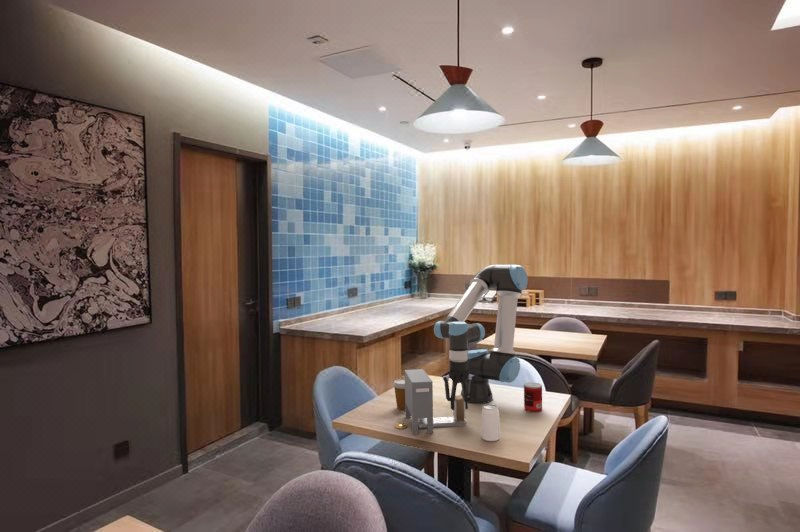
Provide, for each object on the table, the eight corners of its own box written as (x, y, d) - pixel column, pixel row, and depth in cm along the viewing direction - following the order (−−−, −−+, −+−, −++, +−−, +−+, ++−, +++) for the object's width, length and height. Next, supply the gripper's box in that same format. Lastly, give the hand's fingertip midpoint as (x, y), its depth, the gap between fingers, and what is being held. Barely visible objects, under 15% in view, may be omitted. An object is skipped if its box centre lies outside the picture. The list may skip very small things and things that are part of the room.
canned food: (542, 407, 216) (542, 382, 215) (541, 412, 208) (541, 387, 208) (525, 405, 218) (524, 381, 218) (523, 411, 211) (523, 386, 210)
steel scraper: (461, 419, 201) (461, 394, 201) (465, 425, 194) (465, 399, 194) (416, 421, 199) (416, 396, 199) (419, 427, 192) (418, 401, 192)
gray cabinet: (423, 415, 207) (423, 369, 207) (433, 433, 185) (432, 382, 185) (405, 416, 206) (404, 369, 206) (413, 435, 184) (412, 383, 184)
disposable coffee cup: (412, 411, 213) (412, 384, 212) (391, 410, 214) (391, 383, 214) (416, 405, 222) (415, 379, 222) (395, 404, 224) (395, 378, 224)
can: (479, 435, 183) (479, 404, 182) (496, 435, 183) (496, 403, 183) (484, 442, 176) (483, 409, 176) (501, 441, 177) (501, 408, 177)
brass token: (401, 424, 197) (401, 421, 197) (409, 427, 193) (409, 424, 193) (392, 427, 194) (392, 424, 194) (400, 430, 190) (400, 427, 190)
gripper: (475, 357, 201) (476, 413, 201) (437, 358, 199) (438, 415, 200) (480, 361, 193) (481, 419, 194) (440, 362, 192) (441, 421, 192)
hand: (459, 417), depth 197 cm, fingers closed on steel scraper, 3 cm apart
